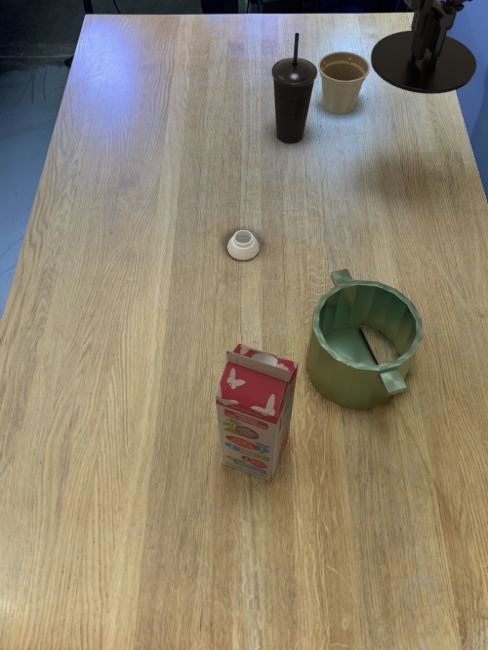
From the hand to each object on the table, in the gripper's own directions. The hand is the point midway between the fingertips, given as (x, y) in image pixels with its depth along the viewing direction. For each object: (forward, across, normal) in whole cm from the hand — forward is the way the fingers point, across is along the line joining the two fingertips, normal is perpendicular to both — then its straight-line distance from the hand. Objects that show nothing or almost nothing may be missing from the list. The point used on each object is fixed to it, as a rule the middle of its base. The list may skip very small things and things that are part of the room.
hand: (425, 53), depth 85 cm
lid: (+1, 0, 0) cm, 1 cm away
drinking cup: (+24, +13, -16) cm, 32 cm away
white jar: (+24, +29, +8) cm, 39 cm away
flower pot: (+24, +1, -22) cm, 33 cm away
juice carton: (+24, +36, +41) cm, 60 cm away
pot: (+24, +20, +33) cm, 45 cm away
